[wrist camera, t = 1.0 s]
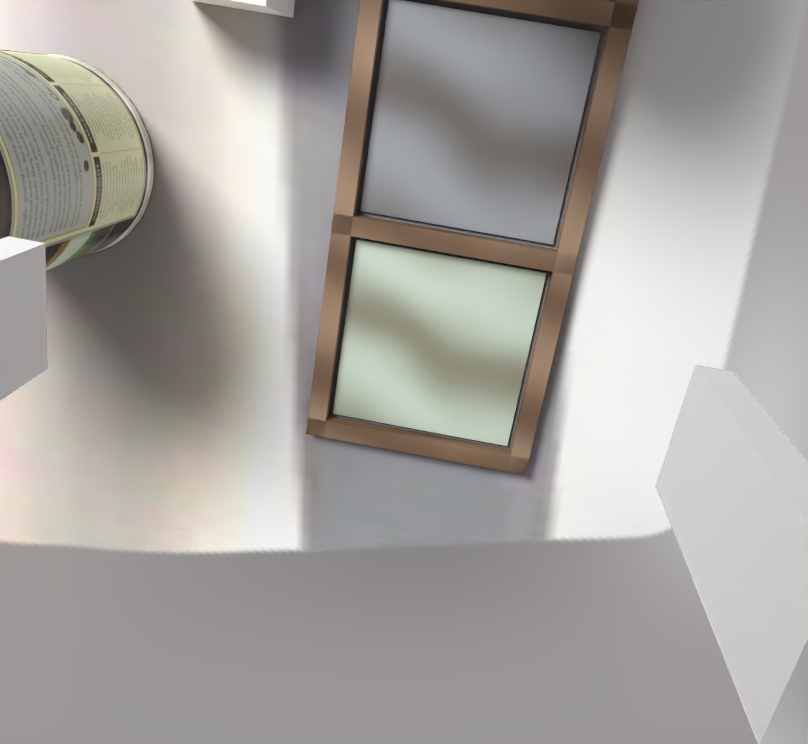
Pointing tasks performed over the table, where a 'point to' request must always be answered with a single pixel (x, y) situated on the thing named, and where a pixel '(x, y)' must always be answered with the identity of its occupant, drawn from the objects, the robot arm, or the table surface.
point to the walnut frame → (460, 220)
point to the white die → (258, 5)
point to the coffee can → (69, 156)
